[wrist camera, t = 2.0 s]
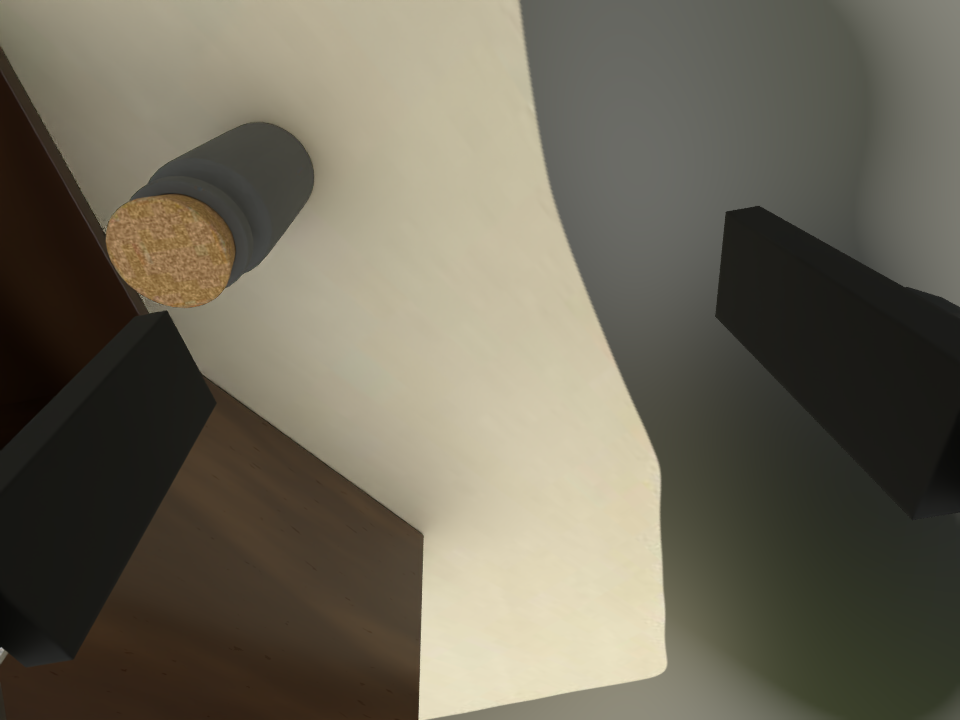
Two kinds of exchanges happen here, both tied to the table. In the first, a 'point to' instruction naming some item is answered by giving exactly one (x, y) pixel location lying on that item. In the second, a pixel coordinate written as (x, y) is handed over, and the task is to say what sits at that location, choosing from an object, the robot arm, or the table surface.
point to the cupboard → (47, 268)
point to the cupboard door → (248, 598)
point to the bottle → (210, 215)
